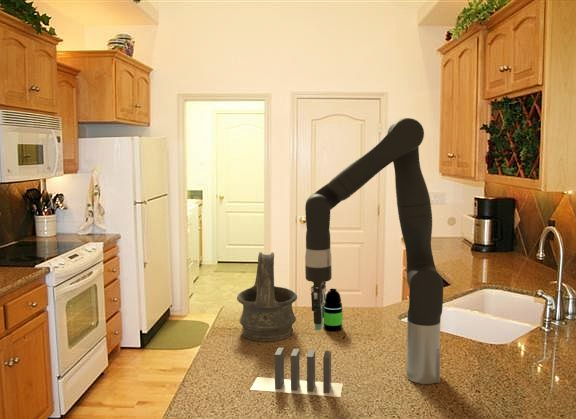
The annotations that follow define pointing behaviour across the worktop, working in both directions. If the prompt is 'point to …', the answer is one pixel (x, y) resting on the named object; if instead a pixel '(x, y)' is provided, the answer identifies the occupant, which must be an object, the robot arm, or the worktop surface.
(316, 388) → the strip
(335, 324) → the bottle
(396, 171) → the robot arm
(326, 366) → the domino
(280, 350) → the domino
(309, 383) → the domino
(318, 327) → the domino
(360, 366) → the worktop surface
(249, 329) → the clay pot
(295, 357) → the domino
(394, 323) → the worktop surface
